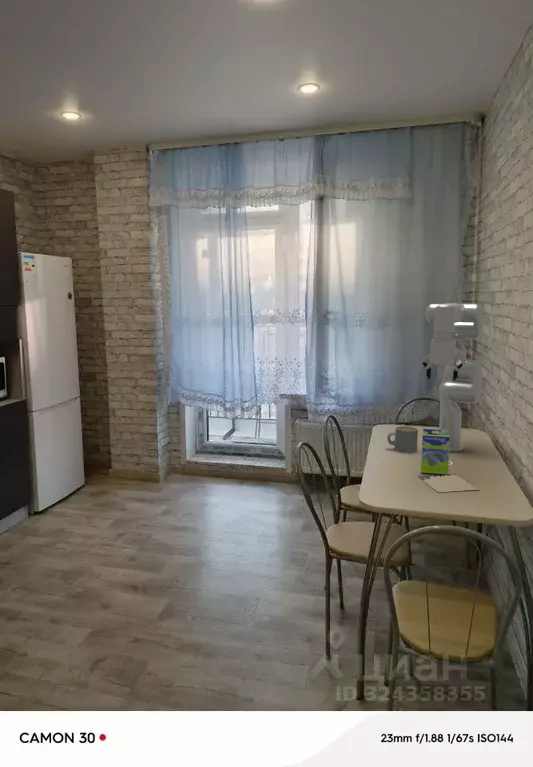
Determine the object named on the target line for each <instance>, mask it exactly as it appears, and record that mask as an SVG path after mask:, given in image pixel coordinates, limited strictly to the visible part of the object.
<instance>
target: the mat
mask: <svg viewBox="0 0 533 767" xmlns="http://www.w3.org/2000/svg"><path fill="white" fill-rule="evenodd" d="M454 474H455V473H454ZM440 475H441V476H444V475H445V474H434V475H418V478H419V477H420V478H421V479H422V481H423V480H425V479H430V477H431V476H434V477H436V476H440ZM455 475H456V474H455ZM441 476H440V477H441ZM420 478H419V479H420ZM424 478H425V479H424ZM421 479H420V480H421ZM466 481H467V480H466ZM468 482H469V481H467V483H468Z"/></svg>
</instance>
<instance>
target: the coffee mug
mask: <svg viewBox="0 0 533 767" xmlns="http://www.w3.org/2000/svg"><path fill="white" fill-rule="evenodd" d="M418 430H419V429H418V427H415V426H411V425H409V426H408V425H399V426H395V430H394V431H389V432H388V434H387V438H386V439H387V442H388V444H390V445H393V446H394V450H395V451H397V452H399V453H404V454H405V453H407V454H409V453H410V454H411V453H412V454H413V453H417V451H418V435H419V431H418ZM392 436H394V440H391V437H392Z"/></svg>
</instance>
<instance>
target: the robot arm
mask: <svg viewBox="0 0 533 767" xmlns="http://www.w3.org/2000/svg"><path fill="white" fill-rule="evenodd" d="M425 318H426V320H427V322H429V323H433V339H431V342H430V345H429V346H430V348H429V353H428V354H425V355H423V356H421V357H420V358H419V359H420V362H421V364H422V365H423V366H424V368H425V369H426V372H425V373H426V374H425V376H426V378H427V380H430V379H431V376H432V368H431V367H432V366H433V365H434V366H444V367H445V368H444V375H445V377H446V378H447V379H450V380H446V381H443V382H441V383H440V384H439V387H438V394H439V424H438V426H439V427H438V428H439V429H438V430H449V436H450V449H449V453H457V452H458V453H459V452H463V450H464V448H465V447H464V445H462V444H461V438H462V437H461V433H462V418H463V417H462V415H463V411H462V409H461V407H460V406H459V405H458V404H459V403H463V404H477V403H478V402H479V401H480V398H481V388H482V387H481V386H482V376H483V366H482V363H481V362H480V361H478V360H475V359H467V353H468V352H467V349H466V346H465V345H464V344H463V343H462V342H461V341H460V340H470V341H471V340H472V341H473V340H479V339H481V337H482V336H483V332H484V326H483V312H482V308H481V306H480V305H479V304H477V303H456V302H449V303H429V305H428V306H427V307H426V309H425ZM425 359H428V363H427V362H426V360H425ZM456 380H457V381H456ZM438 433H440V432H438Z"/></svg>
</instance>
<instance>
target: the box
mask: <svg viewBox="0 0 533 767" xmlns="http://www.w3.org/2000/svg"><path fill="white" fill-rule="evenodd" d="M439 432H440V433H439ZM421 438H422V439H421V460H420V472H421V473H423V474H425V473H426V474H434V475H449V466H450V465H449V464H450V462H449V461H450V452H449V449H450V436H449V430H439V429H434V428H433V429H431V428H423V429H422V435H421Z"/></svg>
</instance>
